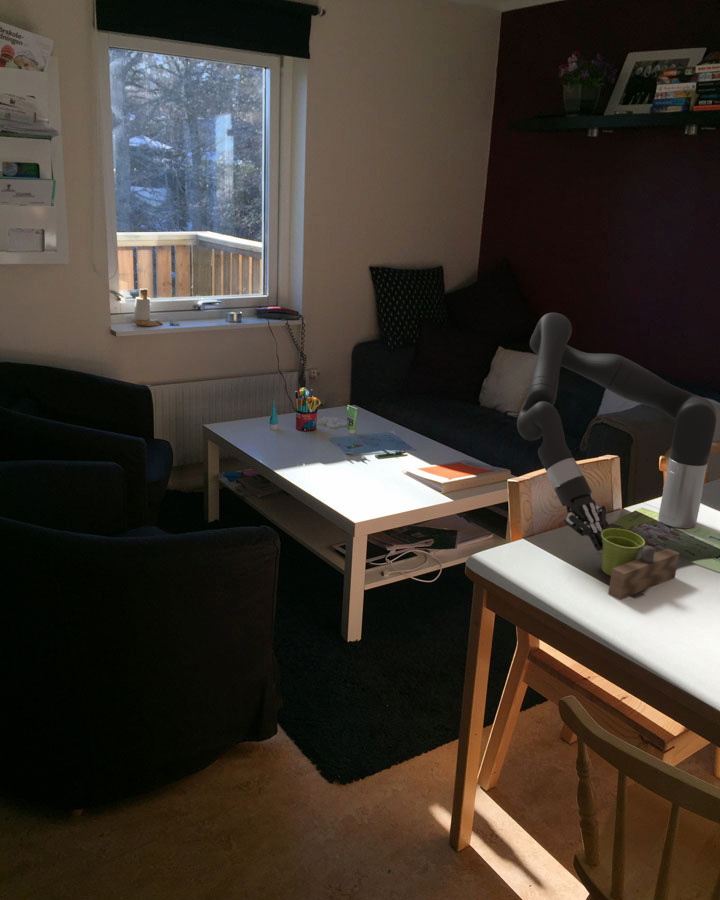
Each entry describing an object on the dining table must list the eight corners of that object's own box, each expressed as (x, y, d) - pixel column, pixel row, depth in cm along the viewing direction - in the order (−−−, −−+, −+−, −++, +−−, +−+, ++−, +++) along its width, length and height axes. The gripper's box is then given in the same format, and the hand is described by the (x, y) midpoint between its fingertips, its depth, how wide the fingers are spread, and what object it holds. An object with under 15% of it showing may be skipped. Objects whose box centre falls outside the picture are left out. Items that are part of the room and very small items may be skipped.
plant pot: (615, 585, 175) (623, 550, 172) (585, 565, 182) (592, 531, 179) (645, 578, 179) (654, 543, 176) (615, 558, 187) (622, 525, 184)
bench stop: (663, 572, 182) (669, 535, 180) (674, 577, 180) (681, 540, 177) (608, 593, 171) (614, 555, 168) (619, 599, 169) (626, 561, 166)
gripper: (576, 484, 194) (609, 549, 189) (539, 493, 187) (573, 561, 182) (597, 470, 189) (632, 537, 183) (560, 479, 181) (595, 549, 176)
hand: (602, 549), depth 182 cm, fingers closed
